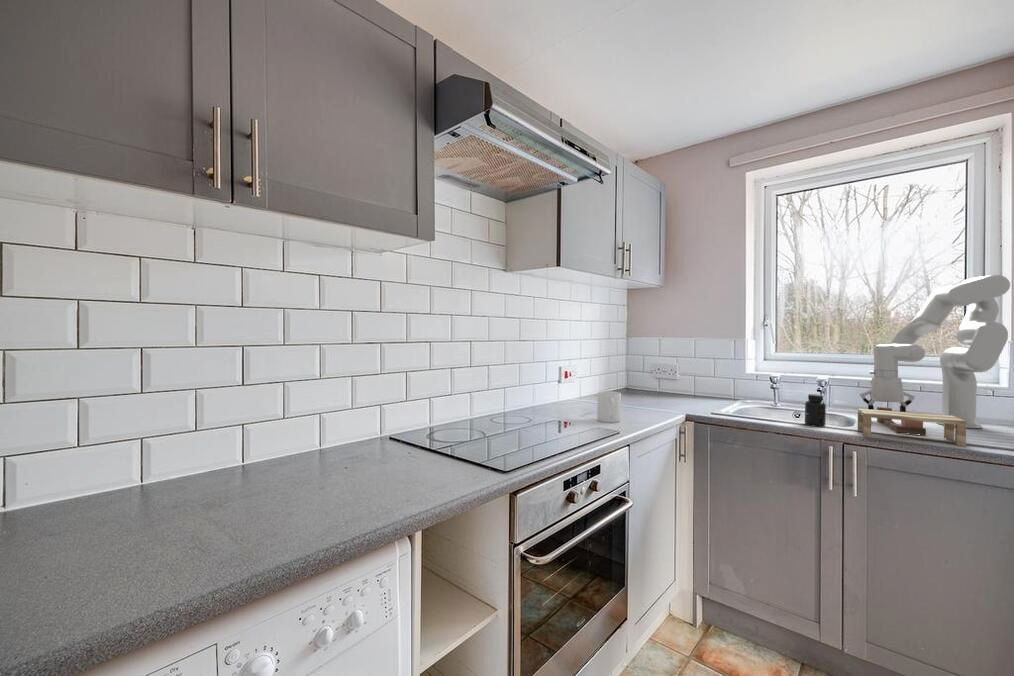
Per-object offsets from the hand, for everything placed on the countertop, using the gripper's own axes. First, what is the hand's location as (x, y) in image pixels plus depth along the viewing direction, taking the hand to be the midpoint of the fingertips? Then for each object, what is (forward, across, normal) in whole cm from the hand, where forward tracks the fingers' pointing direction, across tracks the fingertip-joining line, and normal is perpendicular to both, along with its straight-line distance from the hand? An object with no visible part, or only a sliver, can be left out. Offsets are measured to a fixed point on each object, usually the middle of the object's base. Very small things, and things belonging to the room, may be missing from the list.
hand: (886, 415), depth 180 cm
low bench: (+3, 0, -32) cm, 32 cm away
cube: (+3, +3, -20) cm, 20 cm away
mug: (0, -98, -61) cm, 116 cm away
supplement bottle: (+2, -26, -23) cm, 35 cm away
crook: (+3, +2, -11) cm, 12 cm away
